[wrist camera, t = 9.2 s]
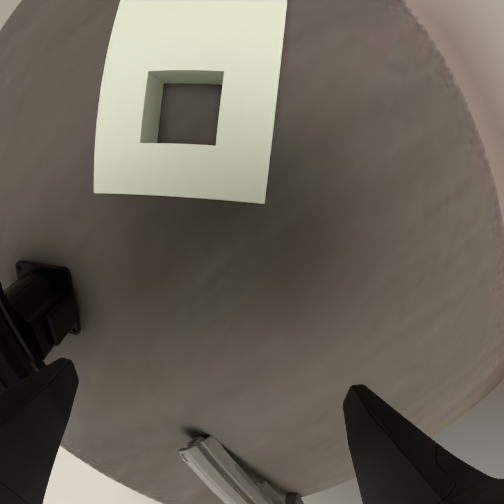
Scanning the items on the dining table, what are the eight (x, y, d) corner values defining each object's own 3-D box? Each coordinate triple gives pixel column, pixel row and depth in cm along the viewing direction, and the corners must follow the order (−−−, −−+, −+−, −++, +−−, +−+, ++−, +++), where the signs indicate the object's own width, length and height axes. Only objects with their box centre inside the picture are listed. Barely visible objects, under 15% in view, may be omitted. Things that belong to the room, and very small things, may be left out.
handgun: (206, 393, 38) (168, 457, 23) (224, 386, 37) (191, 452, 22) (294, 505, 37) (291, 563, 22) (310, 501, 37) (309, 560, 22)
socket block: (260, 194, 19) (264, 204, 15) (116, 184, 18) (93, 193, 15) (287, -46, 12) (294, -70, 9) (158, -47, 11) (148, -70, 8)
